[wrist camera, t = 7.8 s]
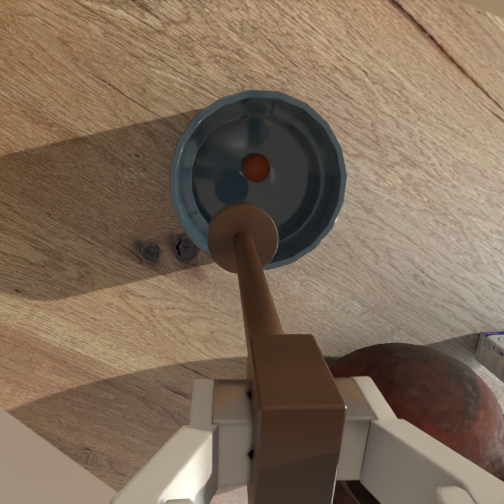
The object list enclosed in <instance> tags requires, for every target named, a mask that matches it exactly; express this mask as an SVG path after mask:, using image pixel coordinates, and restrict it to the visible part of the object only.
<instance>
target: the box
mask: <svg viewBox="0 0 504 504" xmlns="http://www.w3.org/2000/svg"><path fill="white" fill-rule="evenodd" d="M475 359H476V360H477V361H479V362H480V363H481V364H482V365H483V366H485V367H486V368H487V369H488V370H489V371H490V372H492V373H493V374H494V375H495V376H496V377H497V378H499V379H500V380H501V381H502V382H503V383H504V332H481V333H480V338H479V342H478V346H477V349H476V353H475Z"/></svg>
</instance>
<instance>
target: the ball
mask: <svg viewBox="0 0 504 504" xmlns="http://www.w3.org/2000/svg"><path fill="white" fill-rule="evenodd" d="M242 170H243V174H244V176H245V177H246V178H247V179H248V180H249V181H252V182H261V181H263V180H264V179H266V178H267V176H268V175H269V172H270V164H269V161H268V160H267V158H266V157H265V156H263V155H261V154H252V155H249V156H248V157H247V158H246V159H245V160H244V162H243V166H242Z"/></svg>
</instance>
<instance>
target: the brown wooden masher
mask: <svg viewBox="0 0 504 504" xmlns="http://www.w3.org/2000/svg"><path fill="white" fill-rule="evenodd" d="M207 244H208V249H209V252H210V254H211V256H212V258H213V259H214V261H215V262H216V263H217V264H218V265H219V266H220V267H222V268H223V269H225V270H227V271H229V272H232V273H237V274H238V280H239V288H240V296H241V304H242V312H243V320H244V327H245V335H246V343H247V351H248V358H247V378H246V379H249V381H250V389H251V391H250V398H251V399H252V406H253V414H254V422H255V423H254V440H253V449H252V450H251V452H252V473H251V484H247V492H248V504H332V502H333V495H334V489H335V482H336V476H337V470H338V463H339V457H340V450H341V444H342V437H343V431H344V424H345V418H346V411H347V405H346V403H345V401H344V399H343V397H342V394H341V392H340V390H339V388H338V386H337V384H336V382H335V380H334V378H333V376H332V374H331V372H330V370H329V367H328V365H327V363H326V361H325V359H324V357H323V355H322V353H321V351H320V349H319V347H318V345H317V343H316V340H315V338H314V336H313V335H311V334H284V332H283V329H282V326H281V323H280V320H279V317H278V314H277V311H276V308H275V305H274V302H273V299H272V296H271V293H270V290H269V287H268V284H267V281H266V278H265V275H264V272H263V269H262V268H263V267H264V266H266V265H267V264H268V263H269V262H270V261H271V259H272V258H273V256H274V255H275V252H276V250H277V246H278V232H277V228H276V226H275V224H274V222H273V220H272V219H271V217H270V216H269V215H268V213H267V212H266V211H265V210H263V209H262V208H261V207H259V206H257V205H255V204H252V203H248V202H236V203H232V204H229V205H227V206H225V207H223V208H222V209H221V210H219V211H218V212H217V213H216V214H215V216H214V217H213V219H212V221H211V223H210V226H209V230H208V237H207Z"/></svg>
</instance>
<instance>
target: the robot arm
mask: <svg viewBox="0 0 504 504" xmlns="http://www.w3.org/2000/svg"><path fill="white" fill-rule="evenodd" d="M334 380H335V382H336V384H337V386H338V388H339V390H340V392H341V394H342V397H343V399H344V401H345V403H346V405H347V411H346V418H345V424H344V431H343V437H342V444H341V450H340V457H339V463H338V470H337V476H336V480H360V482H361V483H362V484H363V485H364V487H365V488H366V489H367V490H368V491H369V492H370V493H371V494H372V495H373V496H374V497H375V498H376V499H377V500H378V501H379V502H380V503H381V504H504V482H503V481H501V480H499V479H498V478H496V477H495V476H493V475H491V474H490V473H488V472H487V471H485V470H484V469H482V468H480V467H479V466H477V465H476V464H474V463H472V462H471V461H469V460H468V459H466V458H464V457H463V456H461V455H460V454H458V453H456V452H455V451H453V450H452V449H450V448H449V447H447V446H445V445H444V444H442V443H441V442H439V441H437V440H436V439H434V438H433V437H431V436H429V435H428V434H426V433H425V432H423V431H422V430H420V429H418V428H417V427H415V426H414V425H412V424H410V423H409V422H407V421H406V420H404V419H397V417H396V416H395V414H394V412H393V411H392V409H391V408H390V406H389V405H388V403H387V402H386V400H385V399H384V397H383V396H382V394H381V393H380V391H379V390H378V388H377V387H376V385H375V383H374V382H373V380H372V379H371V378H370V377H368V376H361V377H350V378H334ZM250 391H251V389H250V381H249V379H214V391H213V379H195V380H194V382H193V391H192V399H191V408H190V416H189V425H182V427H181V428H180V429H179V430H178V431H177V432H176V433H175V434H174V435H173V436H172V437H171V438H170V439H169V440H168V441H167V442H166V443H165V444H164V445H163V446H162V447H161V448H160V449H159V450H158V451H157V453H156V454H155V455H154V456H153V457H152V458H151V459H150V460H149V461H148V462H147V463H146V464H145V465H144V466H143V467H142V468H141V469H140V470H139V471H138V472H137V473H136V474H135V475H134V476H133V477H132V479H131V480H130V481H129V482H128V483H127V484H126V485H125V486H124V487H123V488H122V489H121V490H120V491H119V492H118V493H117V494H116V495H115V496H114V497H113V498H112V499H111V501H110V504H209V503H210V501H211V499H212V498H213V496H214V494H215V492H216V490H217V486H230V485H243V484H251V473H252V452H251V450H252V449H253V440H254V423H255V422H254V414H253V406H252V399H251V398H250Z"/></svg>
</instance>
